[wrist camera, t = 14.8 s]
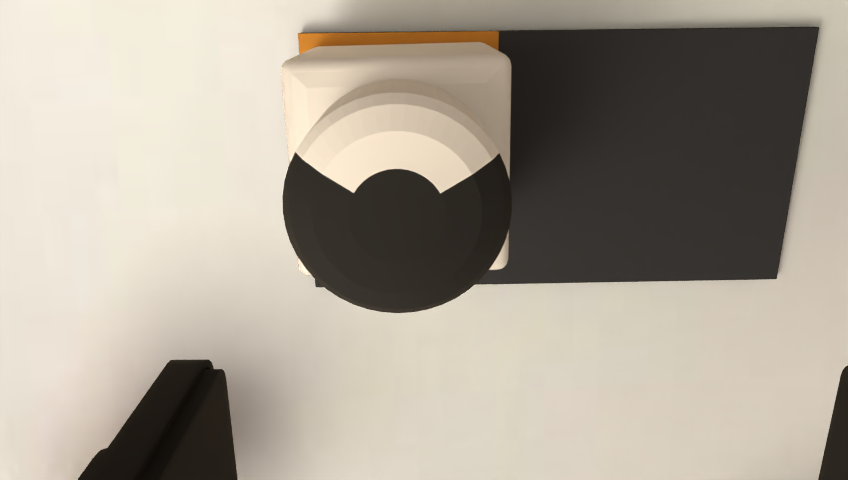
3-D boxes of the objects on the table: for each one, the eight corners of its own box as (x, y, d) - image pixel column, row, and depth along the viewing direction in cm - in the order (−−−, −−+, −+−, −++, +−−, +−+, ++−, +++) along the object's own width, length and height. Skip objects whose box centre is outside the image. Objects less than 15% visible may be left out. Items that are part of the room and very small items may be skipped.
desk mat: (814, 26, 28) (821, 27, 28) (772, 276, 32) (778, 280, 31) (299, 32, 28) (298, 33, 27) (316, 284, 31) (315, 288, 31)
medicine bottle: (487, 211, 30) (533, 339, 19) (323, 216, 30) (269, 347, 19) (488, 41, 28) (542, 68, 16) (310, 46, 28) (239, 76, 16)
